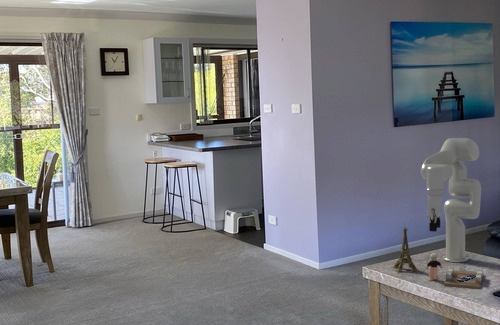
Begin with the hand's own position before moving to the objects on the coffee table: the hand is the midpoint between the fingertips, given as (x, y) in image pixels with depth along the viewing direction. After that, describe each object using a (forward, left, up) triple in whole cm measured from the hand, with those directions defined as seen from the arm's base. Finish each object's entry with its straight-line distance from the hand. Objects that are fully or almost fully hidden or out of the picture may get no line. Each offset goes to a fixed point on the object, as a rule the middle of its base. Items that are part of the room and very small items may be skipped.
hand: (434, 229), depth 296 cm
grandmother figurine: (+1, 0, -24) cm, 24 cm away
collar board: (-2, +13, -24) cm, 27 cm away
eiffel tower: (-13, -16, -24) cm, 32 cm away
